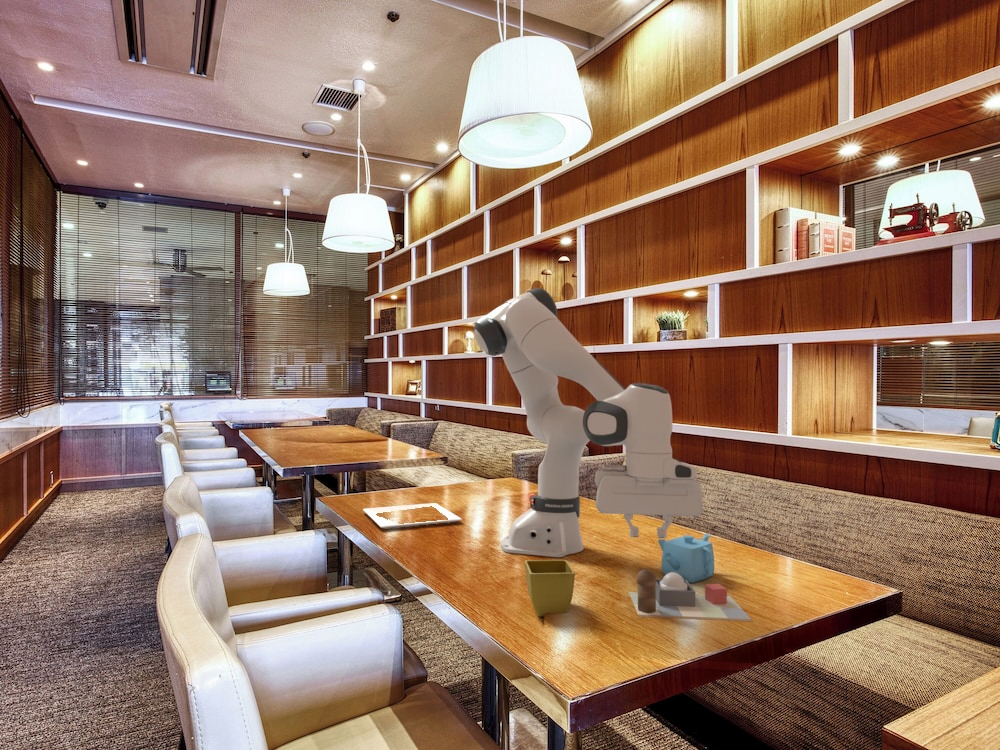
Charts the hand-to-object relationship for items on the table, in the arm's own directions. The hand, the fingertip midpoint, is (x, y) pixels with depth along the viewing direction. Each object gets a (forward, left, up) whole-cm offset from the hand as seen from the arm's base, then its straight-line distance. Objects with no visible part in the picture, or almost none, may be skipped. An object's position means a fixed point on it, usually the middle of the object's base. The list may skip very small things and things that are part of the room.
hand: (647, 537), depth 113 cm
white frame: (-63, +73, -16) cm, 97 cm away
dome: (+6, +6, -14) cm, 16 cm away
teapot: (+13, +23, -15) cm, 30 cm away
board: (+8, +3, -15) cm, 18 cm away
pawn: (0, 0, -14) cm, 14 cm away
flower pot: (-19, 0, -15) cm, 25 cm away
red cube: (+15, +6, -14) cm, 21 cm away
